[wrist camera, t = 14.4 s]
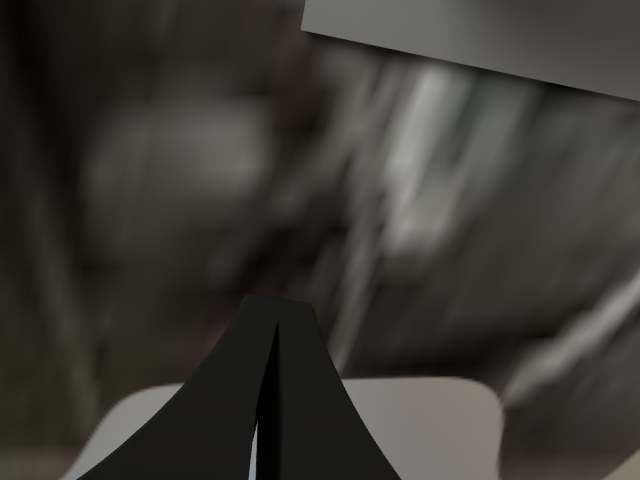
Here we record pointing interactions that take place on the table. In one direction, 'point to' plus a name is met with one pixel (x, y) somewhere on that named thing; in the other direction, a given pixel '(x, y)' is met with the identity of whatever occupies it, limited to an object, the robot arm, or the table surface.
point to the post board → (501, 36)
